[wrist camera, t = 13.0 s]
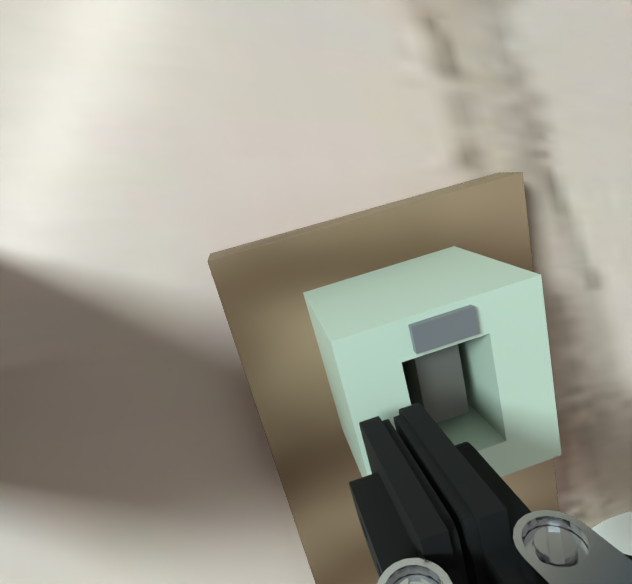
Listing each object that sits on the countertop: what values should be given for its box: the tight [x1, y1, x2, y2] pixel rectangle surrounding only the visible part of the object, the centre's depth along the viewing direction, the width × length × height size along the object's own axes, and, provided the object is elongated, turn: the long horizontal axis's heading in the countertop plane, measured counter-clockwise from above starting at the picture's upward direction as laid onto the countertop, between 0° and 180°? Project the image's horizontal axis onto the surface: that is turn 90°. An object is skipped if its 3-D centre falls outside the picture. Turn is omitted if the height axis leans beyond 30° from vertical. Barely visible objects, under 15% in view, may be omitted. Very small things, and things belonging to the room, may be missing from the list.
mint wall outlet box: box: [303, 246, 561, 477], centre depth 15 cm, size 6×6×5 cm
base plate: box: [208, 172, 559, 584], centre depth 17 cm, size 20×12×6 cm, turn 14°
